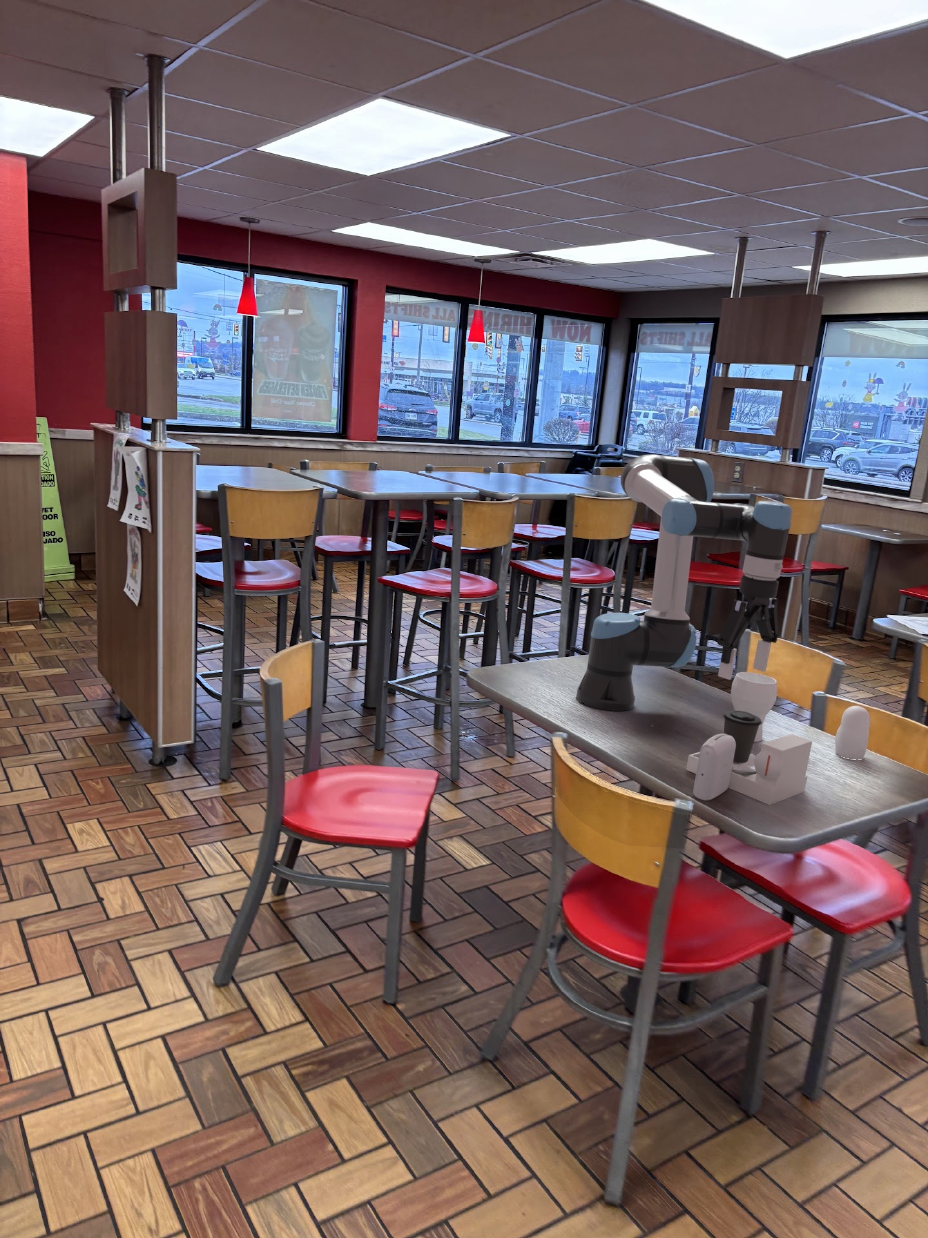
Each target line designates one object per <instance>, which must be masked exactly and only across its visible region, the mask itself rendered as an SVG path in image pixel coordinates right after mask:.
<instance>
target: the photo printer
mask: <svg viewBox="0 0 928 1238" xmlns="http://www.w3.org/2000/svg"><path fill="white" fill-rule="evenodd" d="M735 748H736V743H735V740H734V738H733V737H732V736H730V735H727V734H724V733H718V734H715V735H713V736H712V737H710V738H708V739H707V740H706V741H705V742H704V743H703V744H702V746H701V747H700V750H699V752H700V754H699V760H698V766H697V772H696V774H695V780H694V785H693V790H692V795H693V796H694V797H696V798H697V799H699V800H702V801H712V800H713V799H716V798H717V797H718V796H720V795H721V794H723V793H725V792H726V791H727V790H728V789H729V788H728V786H729V782H730V776H731V771H732V765H733V759H734V754H735Z"/></svg>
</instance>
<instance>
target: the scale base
mask: <svg viewBox="0 0 928 1238" xmlns="http://www.w3.org/2000/svg"><path fill="white" fill-rule="evenodd" d="M812 744H813V740H810V739H807V738H805V737H802V736H799V735H796V734H793V733H791V734H789V735H785V736H782V737H781V736H780V737H779V738H775V739H771V740H768V741H766V742H762V743H761V748H760V752H758V753H757V754H756V757H755V760H754V766H755V770H756V772H757V773H756V774H736V773H734V772H731V776H730V782H729V786H728V789H731V790H732V791H735V792H738V793H741V794H742V795H745V796H747V797H750V798H752V799H754V800H756V801H760V802H761V803H763V804H766V805H768V806H771V805H773V804H777V803H779V802H781V801H783V800H786V799H789V798H791V797H794V796H797V795H798V794H801V793H804V792H806V786H807V782H808V781H807V780H808V776H807V770H808V766H809V759H810V754H811V749H812V746H813V745H812ZM699 754H700V751H698V752H695V753H691V754H688V758H687V763H686V768H685V769H686V771H688V772H691V773H693V774H695V775H696V772H697V766H698V760H699Z"/></svg>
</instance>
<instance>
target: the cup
mask: <svg viewBox="0 0 928 1238" xmlns="http://www.w3.org/2000/svg"><path fill="white" fill-rule="evenodd" d="M777 695H778V680H777V679H775V678H773V677H771V676H769V675H766V674H760V673H757V672H750V671H740V672H737V673H736V674H735V676H734V679H733V681H732V684H731V689H730V696H731V697H730V698H731V702H732V706H733V710H734V711H744V712H748V713H751V714H753V715H755V716H757V717H759V718H760V719H761V721H762V724H761V725H759V727H758V731H757V734H756V737H755V740H754V743H759V742H761V741H762V740H763V733H764V732H763V731H764V728H763V727H764V726H763V725H764V721H765V719H766V716H767V715H768V714H769V713H770V711H771V710H772V709H773V707H774V705H775V703H776V700H777Z"/></svg>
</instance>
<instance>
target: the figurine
mask: <svg viewBox="0 0 928 1238" xmlns="http://www.w3.org/2000/svg"><path fill="white" fill-rule="evenodd" d="M870 726H871V716H870V714H869V712H868V710H867V709H866V708H864V707H862V706H860V705H853V706H849V707H848V708H846V709H845V711H844V712H843V713H842V717H841V721H840V726H839V727H838V729H837V731H836V734H835V739H834V740H835V741H834V743H835V744H834V746H835V748H834V749H835V750H834V751H835V754H836V755H837V754H838V755H839V756H838V755H837V756H838V757H840V756H842V757H845V758H849V759H856V760H858V759H862V760H863V759H864V757H865V755H866V752H867V748H868V743H869V735H870V734H869V733H870V728H871V727H870ZM842 757H841V758H842ZM845 758H844V759H845Z"/></svg>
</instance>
